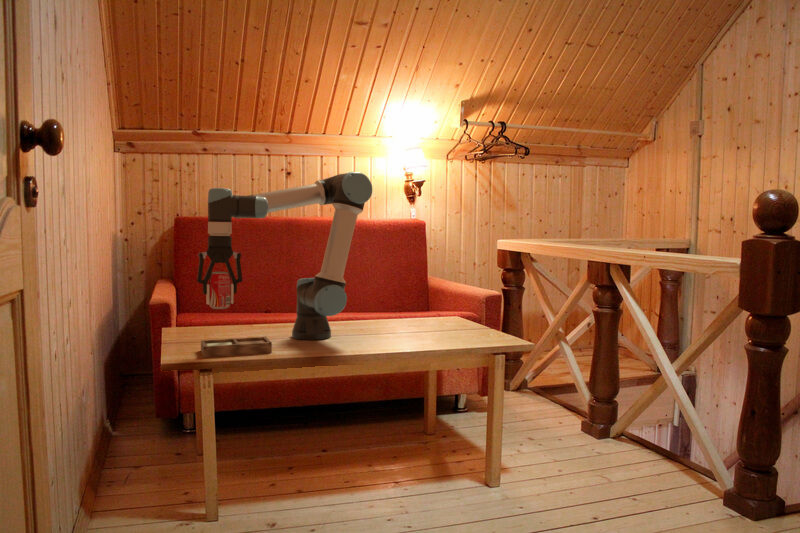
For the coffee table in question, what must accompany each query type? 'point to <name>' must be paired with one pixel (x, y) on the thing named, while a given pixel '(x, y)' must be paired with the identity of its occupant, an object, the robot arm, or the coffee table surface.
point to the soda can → (219, 290)
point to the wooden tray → (235, 346)
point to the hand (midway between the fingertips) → (220, 303)
